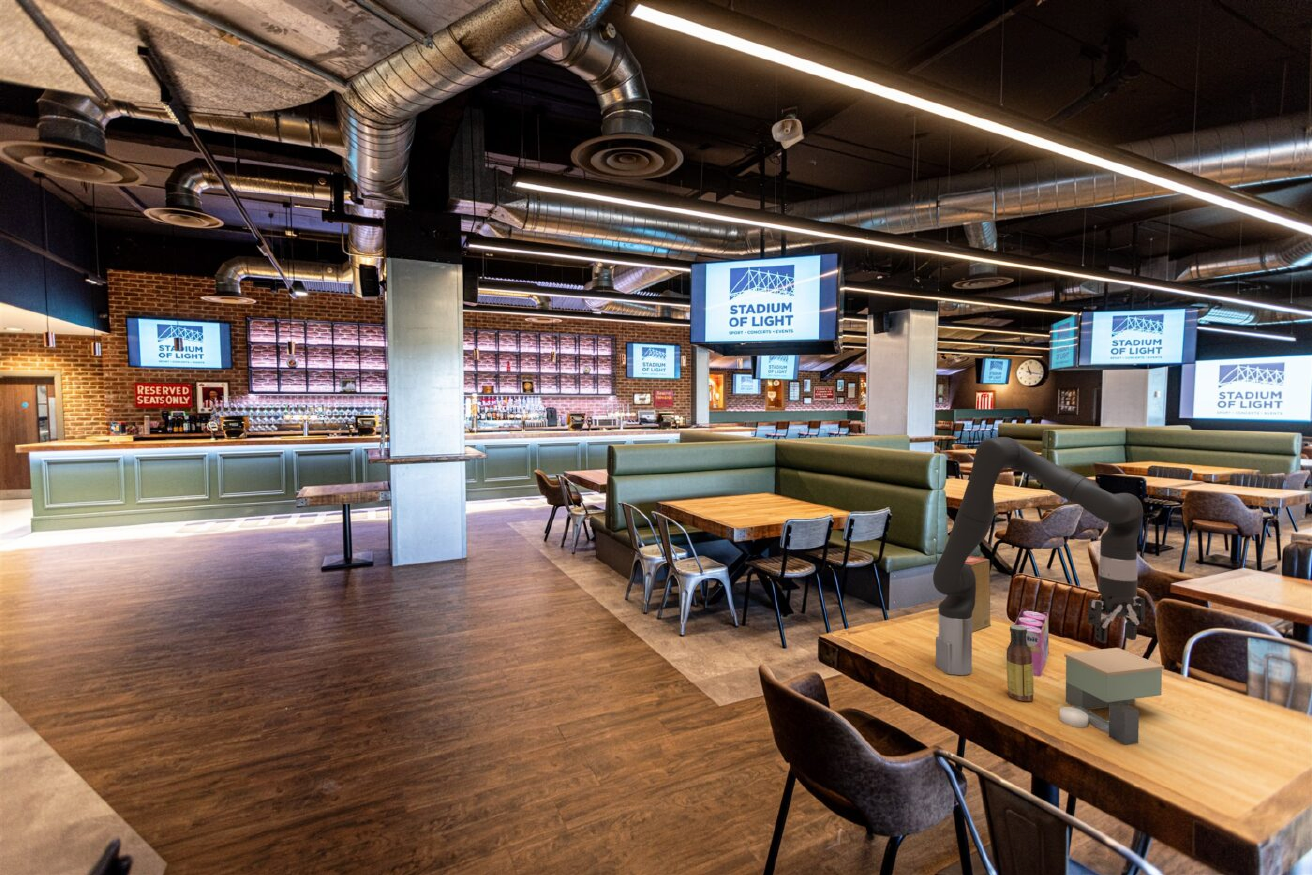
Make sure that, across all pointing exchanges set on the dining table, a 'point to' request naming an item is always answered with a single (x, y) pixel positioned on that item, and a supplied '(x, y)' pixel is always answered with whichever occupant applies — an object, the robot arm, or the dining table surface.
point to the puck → (1074, 717)
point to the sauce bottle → (1019, 665)
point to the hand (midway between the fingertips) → (1115, 640)
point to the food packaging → (981, 592)
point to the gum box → (1036, 637)
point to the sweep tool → (1117, 722)
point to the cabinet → (1110, 678)
